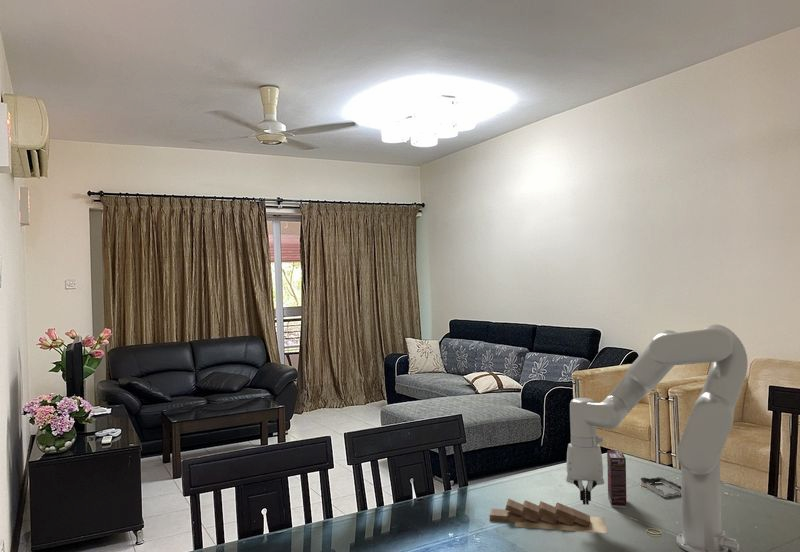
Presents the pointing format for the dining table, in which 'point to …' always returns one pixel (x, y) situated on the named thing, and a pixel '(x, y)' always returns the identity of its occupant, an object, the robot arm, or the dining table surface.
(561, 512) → the domino
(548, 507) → the domino
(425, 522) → the dining table surface
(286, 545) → the dining table surface
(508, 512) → the domino
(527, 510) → the domino
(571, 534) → the dining table surface
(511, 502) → the domino
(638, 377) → the robot arm
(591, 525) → the light wooden board
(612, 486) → the supplement box
